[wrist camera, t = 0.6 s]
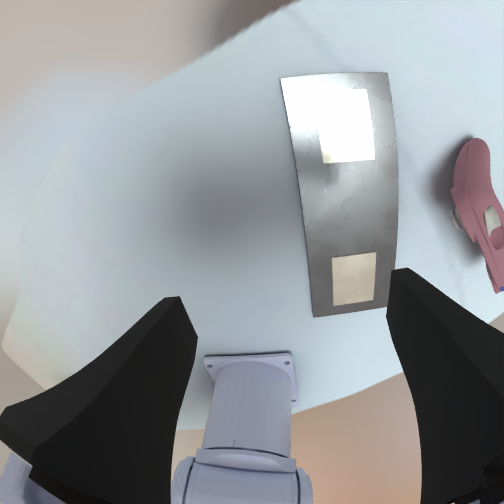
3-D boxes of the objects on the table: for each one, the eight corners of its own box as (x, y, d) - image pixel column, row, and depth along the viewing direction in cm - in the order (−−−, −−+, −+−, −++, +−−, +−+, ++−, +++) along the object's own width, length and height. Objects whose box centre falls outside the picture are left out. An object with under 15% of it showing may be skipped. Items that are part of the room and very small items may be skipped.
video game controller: (427, 159, 15) (444, 229, 11) (475, 126, 11) (516, 189, 7) (479, 244, 17) (491, 315, 13) (519, 223, 14) (541, 294, 10)
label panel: (388, 302, 19) (390, 307, 18) (313, 313, 20) (313, 318, 19) (384, 73, 11) (387, 72, 11) (280, 79, 12) (280, 78, 12)
